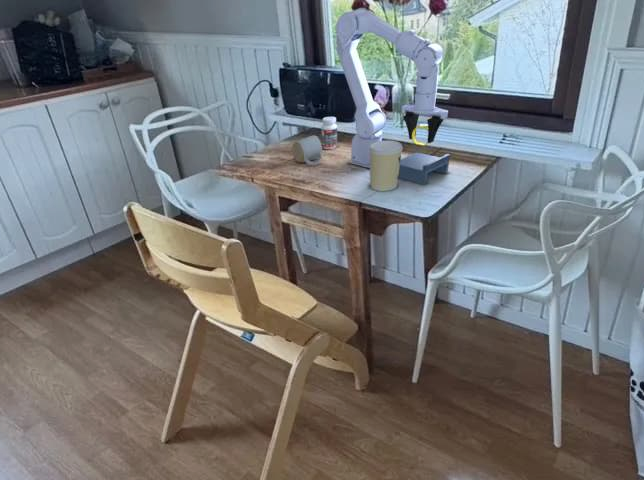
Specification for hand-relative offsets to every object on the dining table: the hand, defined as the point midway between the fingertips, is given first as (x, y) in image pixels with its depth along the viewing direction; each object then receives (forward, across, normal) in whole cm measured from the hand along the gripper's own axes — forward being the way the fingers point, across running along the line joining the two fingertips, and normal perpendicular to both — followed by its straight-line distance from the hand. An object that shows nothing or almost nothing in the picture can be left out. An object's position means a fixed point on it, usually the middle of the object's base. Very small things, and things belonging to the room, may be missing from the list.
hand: (421, 140), depth 157 cm
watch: (+2, 0, 0) cm, 2 cm away
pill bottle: (+9, +40, -2) cm, 41 cm away
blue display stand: (+9, -2, +3) cm, 10 cm away
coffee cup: (+9, +1, +16) cm, 19 cm away
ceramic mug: (+9, +35, +13) cm, 38 cm away
